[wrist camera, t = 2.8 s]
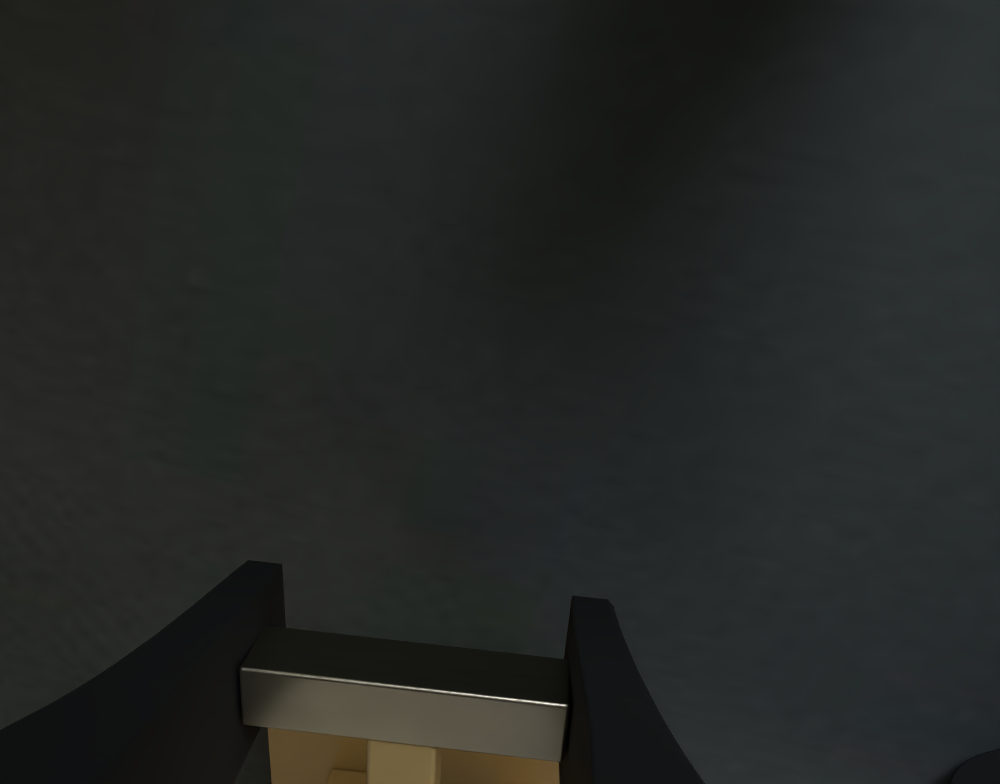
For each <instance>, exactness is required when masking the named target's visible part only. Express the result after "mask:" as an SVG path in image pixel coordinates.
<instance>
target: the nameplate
mask: <svg viewBox="0 0 1000 784" xmlns="http://www.w3.org/2000/svg"><path fill="white" fill-rule="evenodd" d="M951 784H1000V749H998V750H994V751H991V752H987V753H984V754H981V755H979V756H976V757H974V758H972V759H970V760H969V761H967V762H966V763H964V764H963V765H962V766H961V767H960V768H959V769H958V770H957V772H956V773H955V775H954V776H953V778H952V781H951Z"/></svg>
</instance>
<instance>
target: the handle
mask: <svg viewBox="0 0 1000 784" xmlns="http://www.w3.org/2000/svg"><path fill="white" fill-rule="evenodd" d="M239 671H240V692H241V713H242V723H243V724H244V725H250V726H258V727H266V728H275V729H283V730H292V731H300V732H308V733H317V734H325V735H334V736H342V737H351V738H359V739H367V763H366V784H440V779H441V763H442V748H443V749H452V750H460V751H469V752H477V753H485V754H494V755H502V756H511V757H519V758H528V759H536V760H544V761H553V762H562V761H563V759H564V753H565V745H566V737H567V729H568V721H569V713H570V674H569V665H568V660H567V659H558V658H549V657H540V656H532V655H523V654H514V653H505V652H496V651H487V650H478V649H469V648H460V647H451V646H442V645H434V644H425V643H416V642H407V641H398V640H389V639H380V638H371V637H362V636H353V635H344V634H336V633H327V632H318V631H309V630H300V629H291V628H282V627H273V626H264V628H263V629H262V631H261V632H260V634H259V635H258V637H257V638H256V640H255V642H254V644H253V645H252V647H251V649H250V651H249V652H248V654H247V656H246V658H245V659H244V661H243V663H242V665H241V667H240V669H239Z"/></svg>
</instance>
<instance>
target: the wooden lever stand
mask: <svg viewBox="0 0 1000 784" xmlns="http://www.w3.org/2000/svg"><path fill="white" fill-rule="evenodd" d="M268 740H269V753H270V767H271V781H272V784H366V763H367V739H359V738H351V737H342V736H334V735H325V734H317V733H308V732H300V731H292V730H283V729H275V728H268ZM440 784H560V781H559V762H553V761H544V760H536V759H528V758H519V757H511V756H502V755H494V754H485V753H477V752H469V751H460V750H452V749H443V748H442V763H441V779H440Z"/></svg>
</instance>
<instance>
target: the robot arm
mask: <svg viewBox="0 0 1000 784" xmlns="http://www.w3.org/2000/svg"><path fill="white" fill-rule="evenodd" d="M264 626H273V627H282V628H286V624H285V606H284V589H283V571H282V564H277V563H268V562H259V561H250V560H248V561H247V562H245V563H244V564H243V565H242V566H240V567H239V568H238V569H237V570H235V571H234V572H233V573H232V574H230V575H229V576H228V577H227V578H225V579H224V580H223V581H222V582H221V583H219V584H218V585H217V586H216V587H215V588H213V589H212V590H211V591H210V592H209V593H207V594H206V595H205V596H204V597H202V598H201V599H200V600H199V601H198V602H196V603H195V604H194V605H193V606H192V607H190V608H189V609H188V610H187V611H185V612H184V613H183V614H181V615H180V616H179V617H178V618H176V619H175V620H174V621H173V622H171V623H170V624H169V625H167V626H166V627H165V628H164V629H162V630H161V631H160V632H159V633H157V634H156V635H155V636H153V637H152V638H151V639H149V640H148V641H146V642H145V643H144V644H142V645H141V646H140V647H138V648H137V649H135V650H134V651H133V652H131V653H130V654H128V655H127V656H126V657H124V658H123V659H121V660H120V661H119V662H117V663H116V664H114V665H113V666H111V667H110V668H108V669H107V670H105V671H104V672H102V673H101V674H99V675H98V676H96V677H94V678H93V679H91V680H90V681H88V682H86V683H85V684H83V685H81V686H80V687H78V688H77V689H75V690H73V691H72V692H70V693H68V694H67V695H65V696H63V697H62V698H60V699H58V700H56V701H55V702H53V703H51V704H49V705H47V706H45V707H43V708H42V709H40V710H38V711H36V712H34V713H32V714H30V715H28V716H26V717H24V718H22V719H20V720H19V721H17V722H15V723H13V724H11V725H9V726H7V727H5V728H3V729H1V730H0V784H233V783H234V781H235V779H236V777H237V775H238V773H239V771H240V769H241V767H242V765H243V763H244V761H245V758H246V756H247V754H248V752H249V750H250V748H251V746H252V744H253V742H254V740H255V738H256V736H257V733H258V731H259V729H260V727H258V726H250V725H244V724H243V723H242V713H241V692H240V671H239V669H240V667H241V665H242V663H243V661H244V659H245V658H246V656H247V654H248V652H249V651H250V649H251V647H252V645H253V644H254V642H255V640H256V638H257V637H258V635H259V634H260V632H261V631H262V629H263V628H264ZM564 659H567V660H568V665H569V674H570V713H569V721H568V729H567V737H566V745H565V753H564V759H563V761H562V762H559V781H560V784H705V783H704V782H703V780H702V779H701V778H700V776H699V775H698V773H697V772H696V770H695V769H694V767H693V766H692V765H691V763H690V762H689V760H688V759H687V757H686V756H685V754H684V753H683V751H682V749H681V748H680V746H679V745H678V743H677V741H676V740H675V738H674V737H673V735H672V733H671V732H670V730H669V728H668V726H667V725H666V723H665V721H664V720H663V718H662V716H661V714H660V713H659V711H658V709H657V707H656V705H655V703H654V701H653V700H652V698H651V696H650V694H649V692H648V690H647V688H646V686H645V684H644V682H643V680H642V678H641V676H640V674H639V672H638V670H637V667H636V665H635V663H634V661H633V659H632V656H631V654H630V652H629V649H628V647H627V644H626V642H625V640H624V637H623V634H622V632H621V629H620V626H619V623H618V620H617V617H616V614H615V611H614V607H613V605H612V604H611V603H610V602H609V600H606V599H597V598H588V597H579V596H572V600H571V608H570V616H569V624H568V632H567V640H566V648H565V655H564Z"/></svg>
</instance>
